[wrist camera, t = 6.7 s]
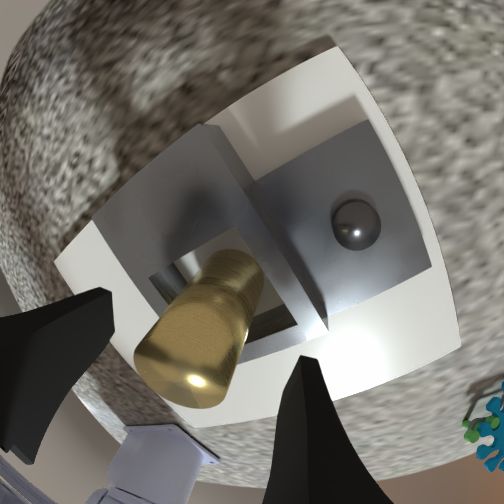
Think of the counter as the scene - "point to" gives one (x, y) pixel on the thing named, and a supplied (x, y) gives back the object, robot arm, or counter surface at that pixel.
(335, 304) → the plate
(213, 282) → the pin
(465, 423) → the gear
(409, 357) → the mat
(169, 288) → the plate
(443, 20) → the counter surface
